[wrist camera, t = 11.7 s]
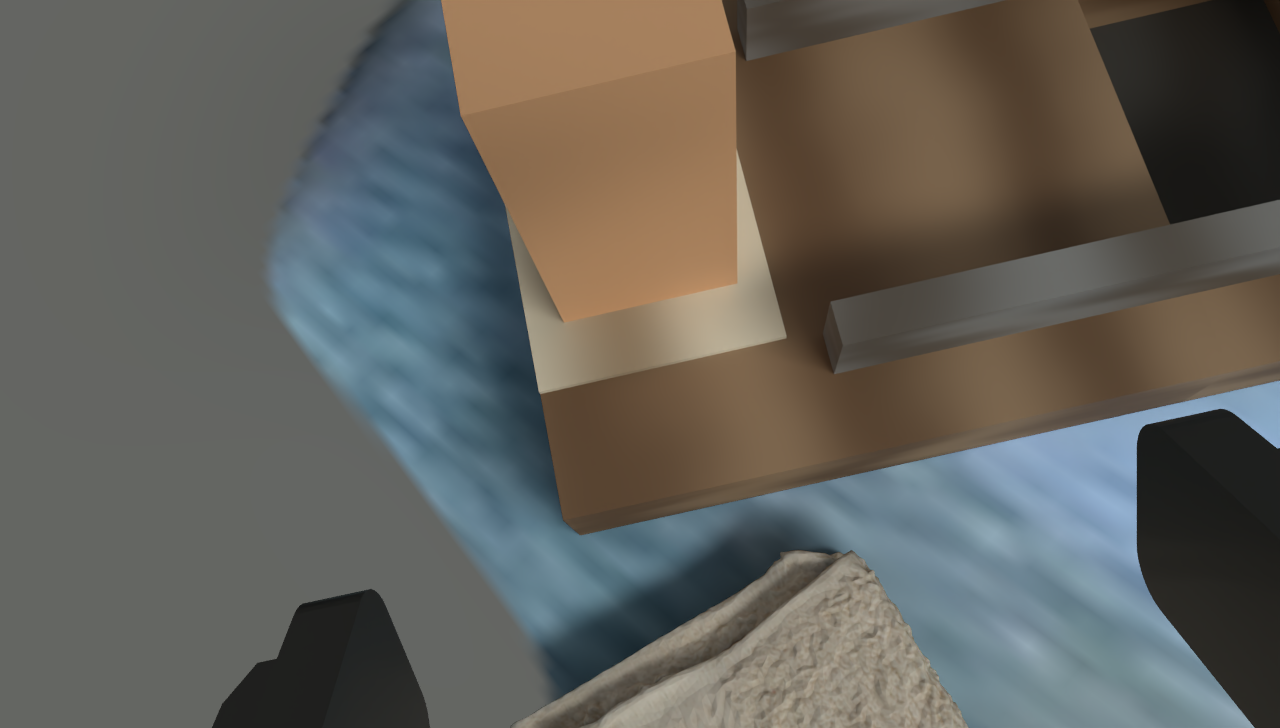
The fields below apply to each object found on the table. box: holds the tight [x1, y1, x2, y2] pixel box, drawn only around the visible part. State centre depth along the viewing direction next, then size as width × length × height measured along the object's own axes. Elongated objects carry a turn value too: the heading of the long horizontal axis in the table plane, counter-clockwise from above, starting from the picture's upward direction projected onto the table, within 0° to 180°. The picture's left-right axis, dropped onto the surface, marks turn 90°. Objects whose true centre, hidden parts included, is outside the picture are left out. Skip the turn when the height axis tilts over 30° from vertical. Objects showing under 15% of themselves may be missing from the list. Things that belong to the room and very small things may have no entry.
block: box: [441, 0, 737, 323], centre depth 24 cm, size 5×5×11 cm
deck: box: [505, 0, 1280, 535], centre depth 29 cm, size 26×16×6 cm, turn 102°
